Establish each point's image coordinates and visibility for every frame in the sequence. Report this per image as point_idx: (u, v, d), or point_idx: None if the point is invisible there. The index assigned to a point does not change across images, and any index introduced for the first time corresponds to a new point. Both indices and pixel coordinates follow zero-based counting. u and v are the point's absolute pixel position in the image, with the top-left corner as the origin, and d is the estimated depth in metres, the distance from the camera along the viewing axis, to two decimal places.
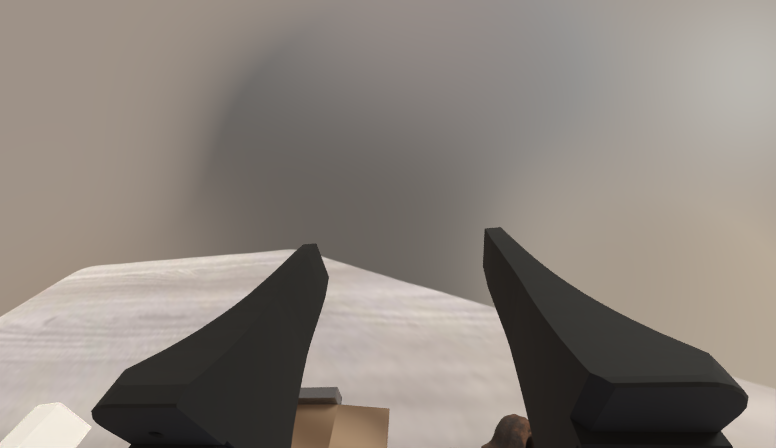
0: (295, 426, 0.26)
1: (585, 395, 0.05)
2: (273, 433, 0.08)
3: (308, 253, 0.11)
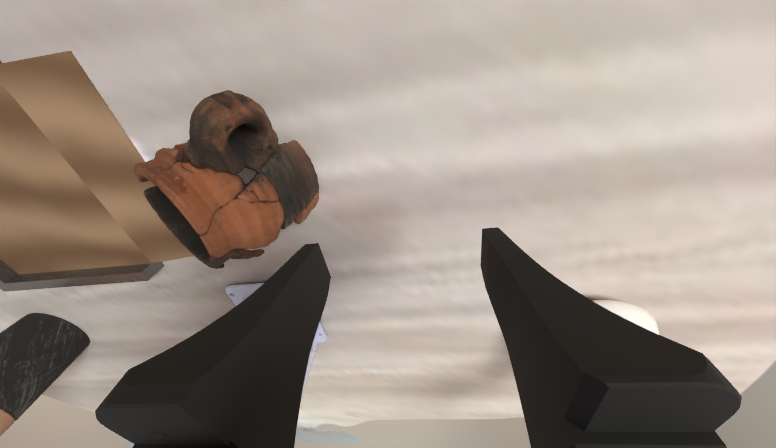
0: None
1: (579, 395, 0.05)
2: (276, 433, 0.08)
3: (310, 253, 0.11)
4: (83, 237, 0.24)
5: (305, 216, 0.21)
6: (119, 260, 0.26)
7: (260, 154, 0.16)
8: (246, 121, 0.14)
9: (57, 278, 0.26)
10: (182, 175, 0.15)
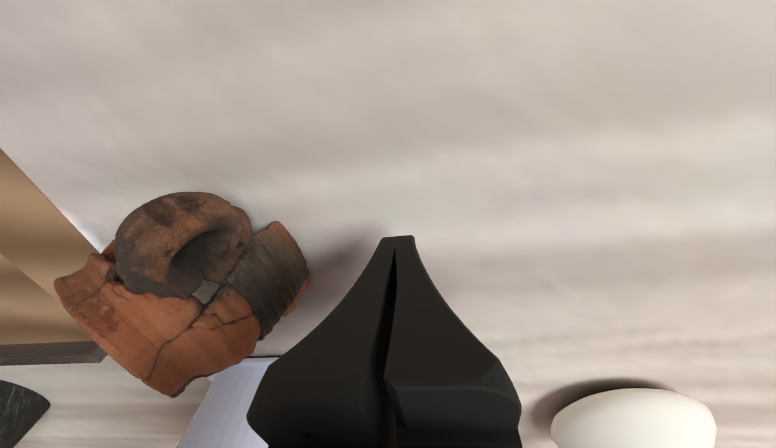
0: None
1: (391, 397, 0.05)
2: (392, 434, 0.08)
3: (395, 246, 0.11)
4: (19, 314, 0.20)
5: (291, 309, 0.16)
6: (66, 336, 0.22)
7: (226, 258, 0.12)
8: (197, 234, 0.10)
9: None
10: (113, 302, 0.11)
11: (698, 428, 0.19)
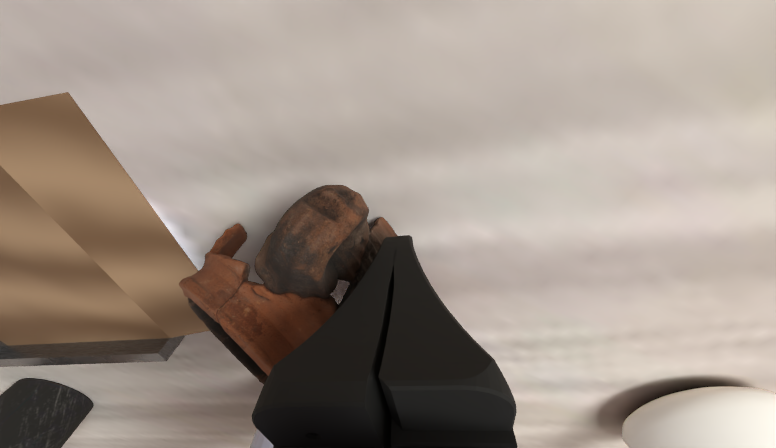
0: None
1: (386, 397, 0.05)
2: None
3: (398, 245, 0.11)
4: (86, 310, 0.19)
5: None
6: (130, 334, 0.21)
7: (354, 255, 0.12)
8: None
9: (54, 355, 0.21)
10: (254, 303, 0.10)
11: None
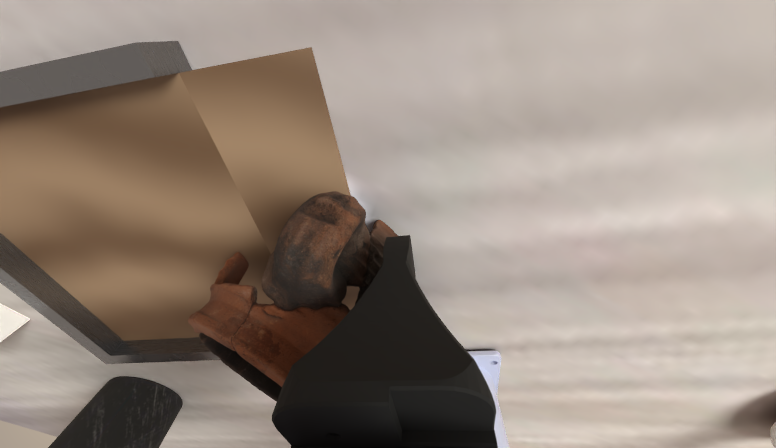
0: (128, 137, 0.12)
1: None
2: None
3: (409, 245, 0.11)
4: None
5: None
6: None
7: (358, 260, 0.12)
8: None
9: (183, 351, 0.20)
10: (267, 324, 0.10)
11: None
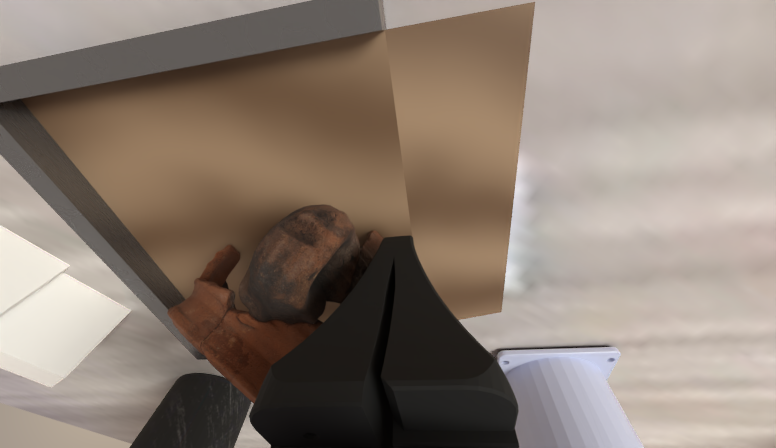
0: (299, 107, 0.11)
1: (388, 397, 0.05)
2: None
3: (396, 246, 0.11)
4: None
5: None
6: None
7: (343, 275, 0.11)
8: None
9: None
10: (239, 333, 0.10)
11: None
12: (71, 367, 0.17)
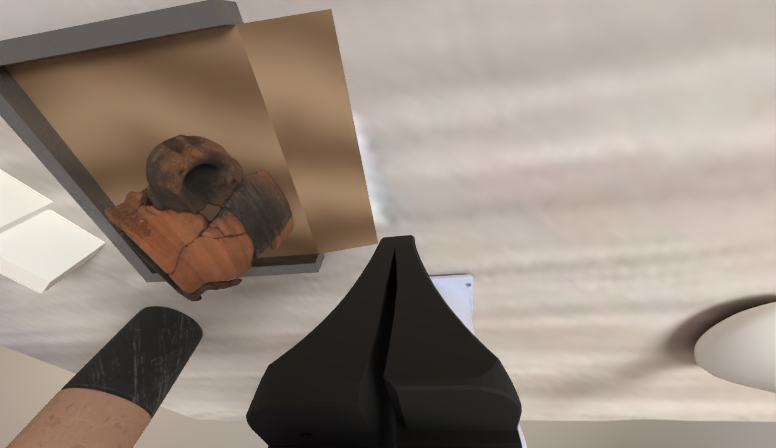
0: (192, 75, 0.16)
1: (391, 397, 0.05)
2: (392, 434, 0.08)
3: (395, 246, 0.11)
4: None
5: (280, 242, 0.21)
6: (284, 250, 0.24)
7: (224, 189, 0.17)
8: (200, 162, 0.15)
9: None
10: (147, 217, 0.15)
11: None
12: (55, 275, 0.22)
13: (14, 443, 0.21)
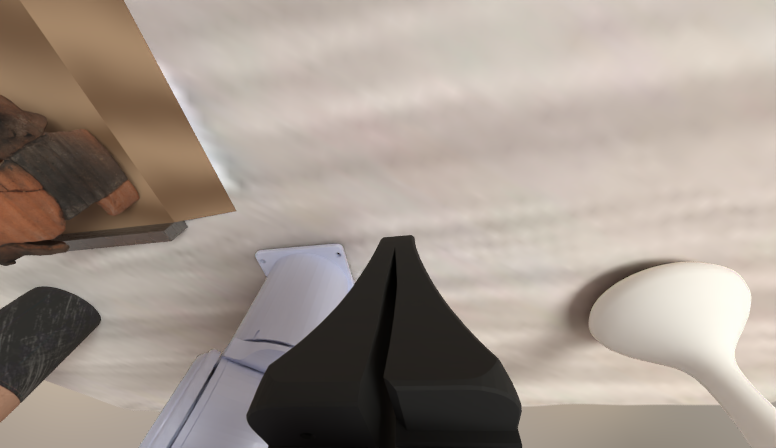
0: None
1: (391, 397, 0.05)
2: (392, 434, 0.08)
3: (395, 246, 0.11)
4: None
5: (114, 207, 0.20)
6: (138, 219, 0.23)
7: (11, 142, 0.16)
8: None
9: (68, 240, 0.23)
10: None
11: (736, 290, 0.20)
12: None
13: None
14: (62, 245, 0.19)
